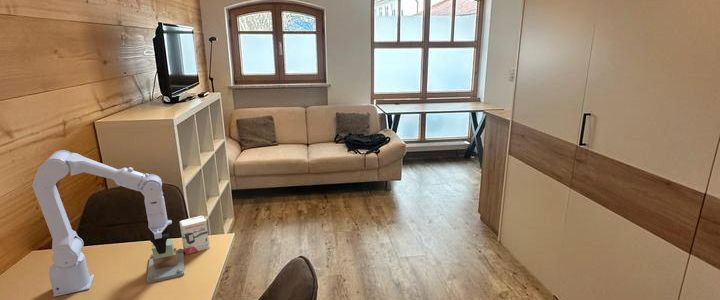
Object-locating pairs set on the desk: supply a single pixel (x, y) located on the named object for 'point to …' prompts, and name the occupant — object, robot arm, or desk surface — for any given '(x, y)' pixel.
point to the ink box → (194, 234)
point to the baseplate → (166, 269)
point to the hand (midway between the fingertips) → (162, 247)
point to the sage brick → (168, 250)
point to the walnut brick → (166, 261)
